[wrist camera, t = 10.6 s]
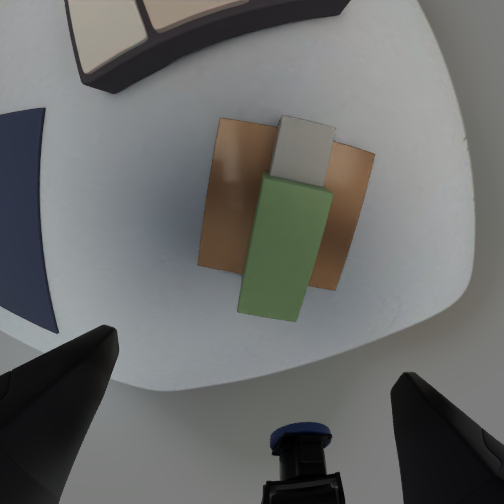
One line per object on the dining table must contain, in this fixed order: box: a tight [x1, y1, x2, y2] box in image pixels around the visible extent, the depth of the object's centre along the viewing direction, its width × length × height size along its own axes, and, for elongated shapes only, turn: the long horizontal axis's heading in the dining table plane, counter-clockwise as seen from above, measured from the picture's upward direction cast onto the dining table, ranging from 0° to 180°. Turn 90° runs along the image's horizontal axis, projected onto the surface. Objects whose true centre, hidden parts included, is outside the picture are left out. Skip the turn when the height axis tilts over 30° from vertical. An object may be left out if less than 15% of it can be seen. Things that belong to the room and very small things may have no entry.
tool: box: [237, 115, 336, 322], centre depth 14 cm, size 10×3×4 cm, turn 169°
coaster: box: [198, 118, 375, 290], centre depth 16 cm, size 9×9×1 cm
